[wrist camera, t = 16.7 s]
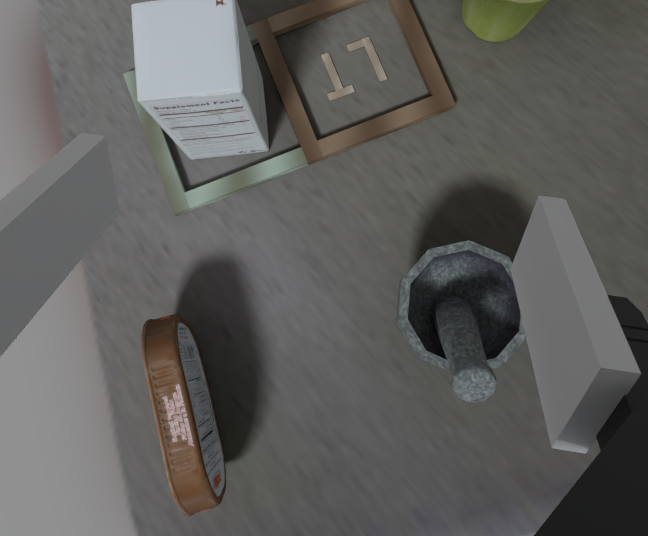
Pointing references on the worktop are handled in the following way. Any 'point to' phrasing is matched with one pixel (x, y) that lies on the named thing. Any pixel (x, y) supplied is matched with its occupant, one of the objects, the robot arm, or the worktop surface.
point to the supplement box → (200, 76)
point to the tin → (183, 414)
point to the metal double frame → (311, 150)
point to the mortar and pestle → (462, 314)
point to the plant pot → (499, 17)
